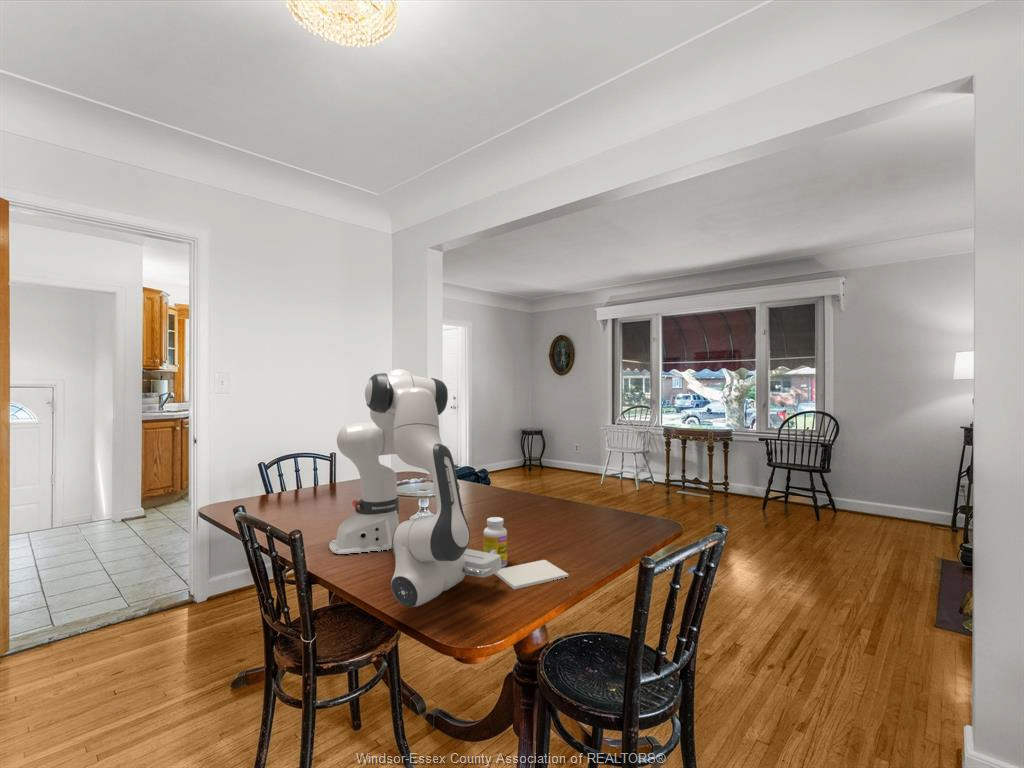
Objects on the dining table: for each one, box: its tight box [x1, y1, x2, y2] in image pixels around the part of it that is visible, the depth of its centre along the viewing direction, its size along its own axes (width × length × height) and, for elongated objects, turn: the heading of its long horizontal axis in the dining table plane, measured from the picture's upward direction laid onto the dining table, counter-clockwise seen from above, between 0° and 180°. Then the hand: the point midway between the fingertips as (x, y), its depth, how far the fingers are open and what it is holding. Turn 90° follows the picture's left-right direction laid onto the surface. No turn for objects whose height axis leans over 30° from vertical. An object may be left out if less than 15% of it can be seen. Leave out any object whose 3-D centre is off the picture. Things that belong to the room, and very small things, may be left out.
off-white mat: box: [493, 559, 570, 590], centre depth 130 cm, size 16×12×1 cm
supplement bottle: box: [482, 516, 508, 568], centre depth 138 cm, size 7×7×13 cm
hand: (478, 549), depth 130 cm, fingers open, 8 cm apart
